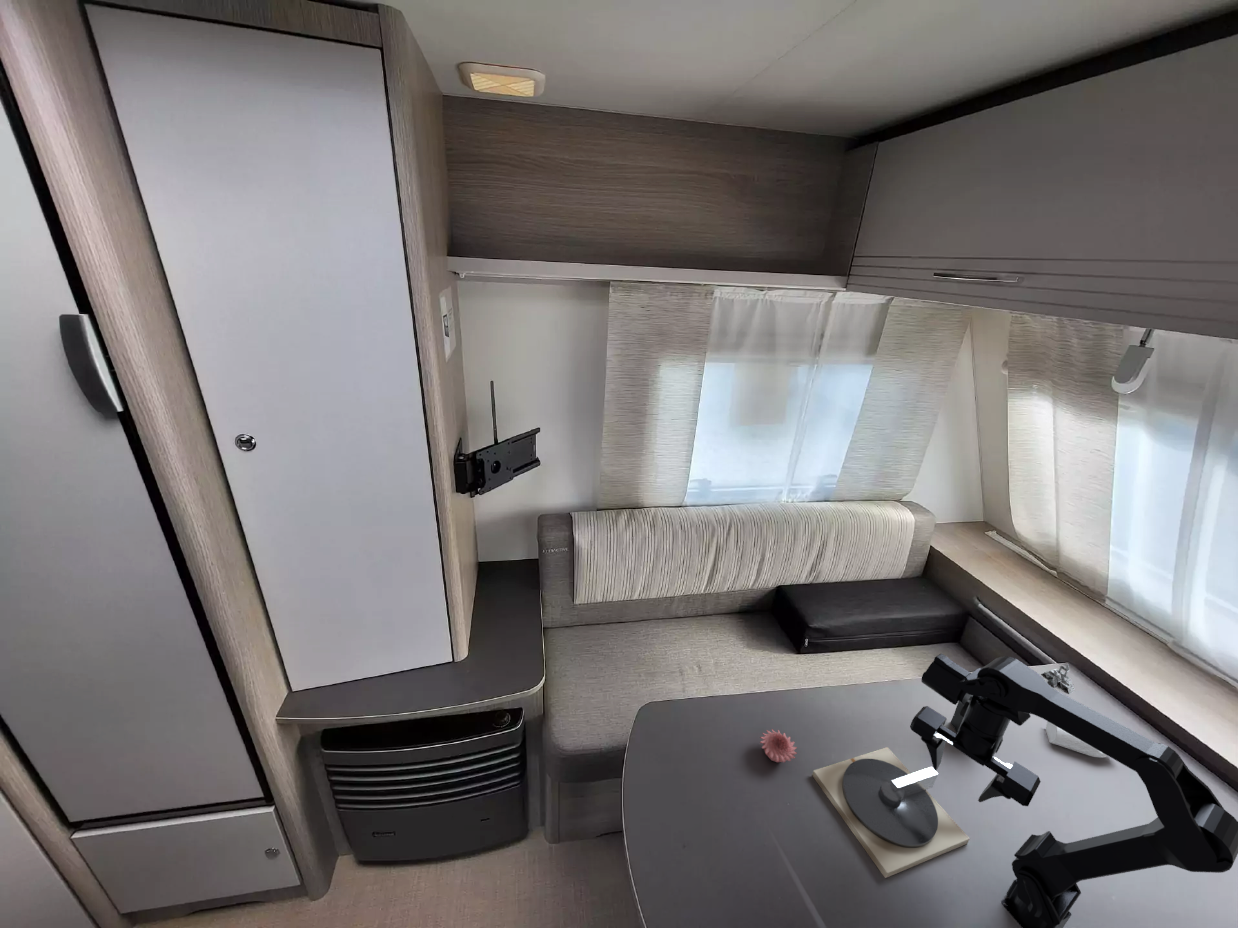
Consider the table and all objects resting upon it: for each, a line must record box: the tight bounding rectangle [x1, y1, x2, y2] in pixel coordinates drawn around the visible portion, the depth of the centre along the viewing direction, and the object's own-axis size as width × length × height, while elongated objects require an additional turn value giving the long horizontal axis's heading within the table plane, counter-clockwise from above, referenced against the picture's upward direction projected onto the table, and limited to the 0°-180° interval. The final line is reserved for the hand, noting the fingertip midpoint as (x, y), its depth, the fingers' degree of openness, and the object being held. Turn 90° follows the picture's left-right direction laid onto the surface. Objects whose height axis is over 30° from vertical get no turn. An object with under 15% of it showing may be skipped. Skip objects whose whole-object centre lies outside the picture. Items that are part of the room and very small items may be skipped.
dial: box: [842, 759, 939, 848], centre depth 100 cm, size 19×17×5 cm
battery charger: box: [949, 695, 973, 733], centre depth 117 cm, size 7×4×11 cm, turn 0°
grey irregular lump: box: [1045, 663, 1076, 695], centre depth 134 cm, size 9×9×8 cm
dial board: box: [811, 746, 971, 879], centre depth 101 cm, size 20×20×2 cm
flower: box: [759, 728, 798, 763], centre depth 110 cm, size 8×8×6 cm
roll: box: [1045, 721, 1108, 759], centre depth 116 cm, size 6×12×6 cm, turn 64°
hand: (957, 783), depth 93 cm, fingers open, 7 cm apart
